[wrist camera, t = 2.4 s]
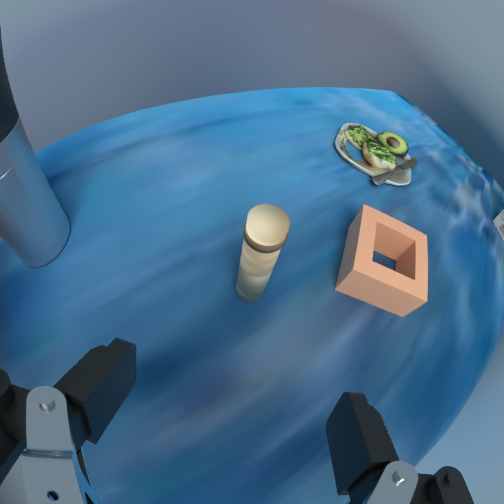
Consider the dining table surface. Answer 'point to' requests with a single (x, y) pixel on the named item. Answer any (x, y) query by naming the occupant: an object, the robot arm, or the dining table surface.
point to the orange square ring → (377, 276)
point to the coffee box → (500, 223)
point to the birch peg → (260, 249)
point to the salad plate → (377, 154)
